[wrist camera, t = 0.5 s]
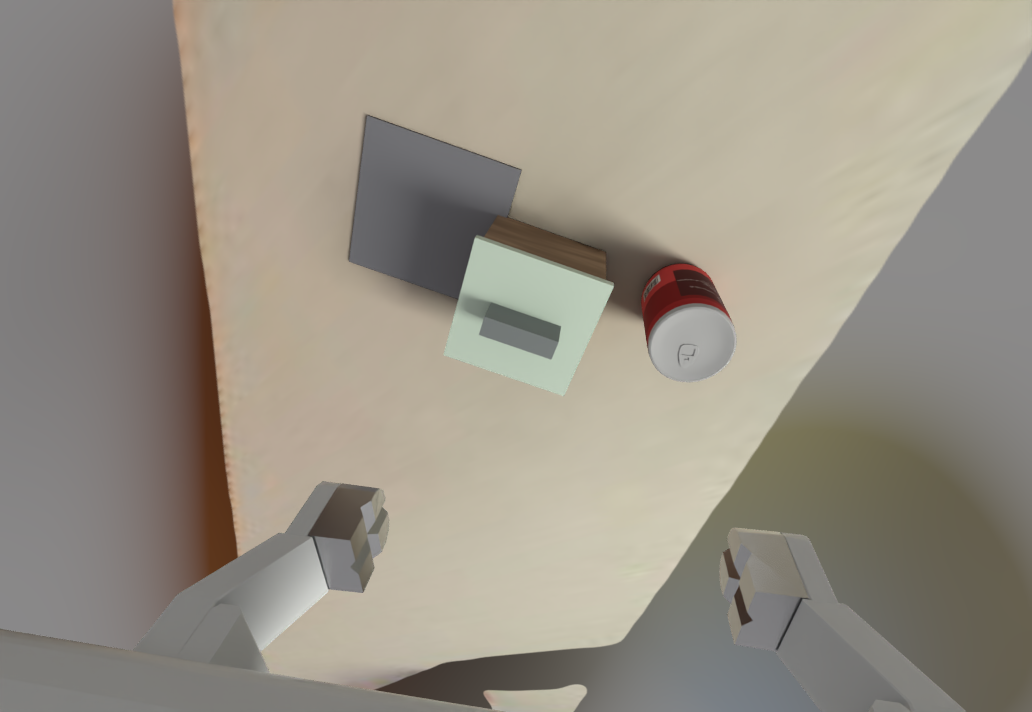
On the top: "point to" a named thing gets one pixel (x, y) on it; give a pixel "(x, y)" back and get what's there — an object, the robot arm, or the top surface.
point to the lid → (525, 315)
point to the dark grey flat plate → (424, 206)
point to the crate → (548, 246)
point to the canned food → (686, 324)
